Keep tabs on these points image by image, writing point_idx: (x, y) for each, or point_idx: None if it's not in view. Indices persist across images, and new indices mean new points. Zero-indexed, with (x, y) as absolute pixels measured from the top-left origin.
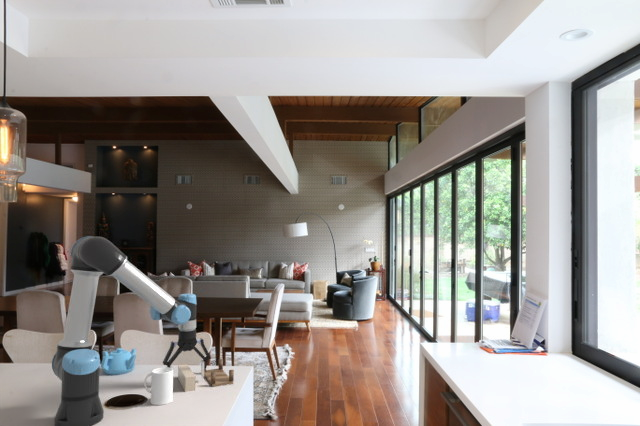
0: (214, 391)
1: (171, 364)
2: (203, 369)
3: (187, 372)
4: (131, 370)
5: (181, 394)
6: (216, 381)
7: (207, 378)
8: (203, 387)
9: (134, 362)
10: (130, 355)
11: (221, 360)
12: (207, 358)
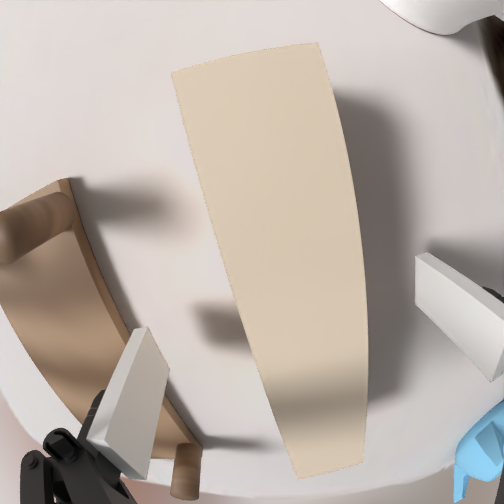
0: (56, 74)
1: (492, 377)
2: (121, 372)
3: (306, 292)
4: (466, 435)
5: (312, 33)
6: (46, 254)
7: None
8: (133, 172)
9: (464, 460)
10: (488, 468)
11: None
12: (57, 467)
